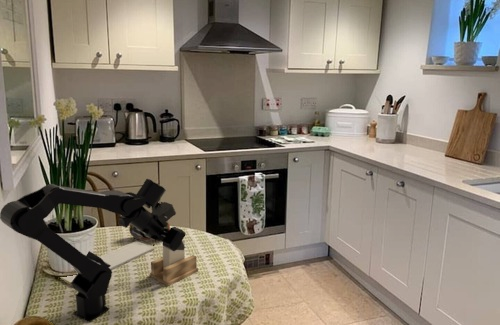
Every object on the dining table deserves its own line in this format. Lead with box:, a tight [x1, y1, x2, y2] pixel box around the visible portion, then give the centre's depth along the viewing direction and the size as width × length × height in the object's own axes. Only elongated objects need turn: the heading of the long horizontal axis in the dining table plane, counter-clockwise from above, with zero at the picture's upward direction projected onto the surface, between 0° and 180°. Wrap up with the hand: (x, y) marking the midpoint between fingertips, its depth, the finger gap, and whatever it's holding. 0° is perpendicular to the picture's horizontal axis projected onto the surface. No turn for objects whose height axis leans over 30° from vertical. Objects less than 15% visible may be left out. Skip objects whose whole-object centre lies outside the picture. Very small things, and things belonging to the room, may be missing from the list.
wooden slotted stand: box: [149, 254, 199, 287], centre depth 126 cm, size 12×9×5 cm
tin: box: [129, 221, 171, 241], centre depth 151 cm, size 15×3×8 cm, turn 88°
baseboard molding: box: [60, 237, 155, 286], centre depth 133 cm, size 31×3×12 cm
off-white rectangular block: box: [162, 239, 186, 268], centre depth 125 cm, size 6×3×10 cm, turn 141°
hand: (174, 244), depth 125 cm, fingers open, 9 cm apart
